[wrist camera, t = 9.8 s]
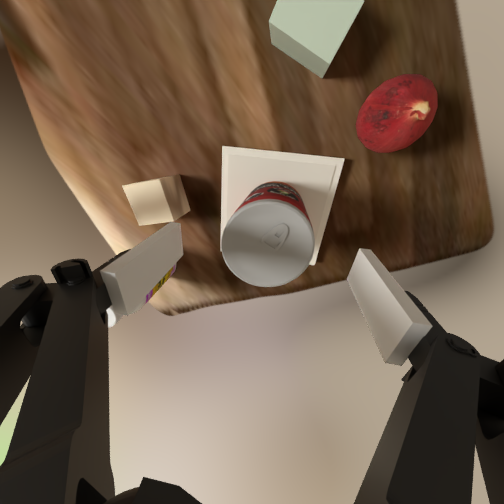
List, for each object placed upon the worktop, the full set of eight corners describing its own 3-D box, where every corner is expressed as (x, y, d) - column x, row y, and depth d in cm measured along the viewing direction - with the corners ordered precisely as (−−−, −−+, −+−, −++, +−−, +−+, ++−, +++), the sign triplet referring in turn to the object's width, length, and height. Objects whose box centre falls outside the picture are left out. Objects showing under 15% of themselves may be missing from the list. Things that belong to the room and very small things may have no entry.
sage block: (294, -11, 18) (297, -50, 14) (349, 29, 18) (364, 1, 15) (271, 44, 20) (268, 21, 16) (321, 79, 20) (329, 64, 17)
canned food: (314, 191, 24) (334, 220, 14) (289, 247, 28) (291, 299, 18) (254, 170, 24) (233, 185, 14) (237, 229, 28) (211, 272, 18)
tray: (225, 146, 24) (222, 145, 23) (341, 158, 23) (345, 158, 22) (222, 247, 31) (220, 251, 30) (313, 261, 30) (314, 265, 28)
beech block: (147, 180, 28) (122, 185, 23) (179, 174, 27) (159, 179, 22) (160, 214, 30) (139, 225, 26) (190, 210, 29) (173, 221, 25)
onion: (341, 151, 23) (367, 152, 16) (354, 88, 20) (392, 55, 13) (396, 152, 22) (448, 154, 15) (416, 87, 19) (492, 51, 12)
